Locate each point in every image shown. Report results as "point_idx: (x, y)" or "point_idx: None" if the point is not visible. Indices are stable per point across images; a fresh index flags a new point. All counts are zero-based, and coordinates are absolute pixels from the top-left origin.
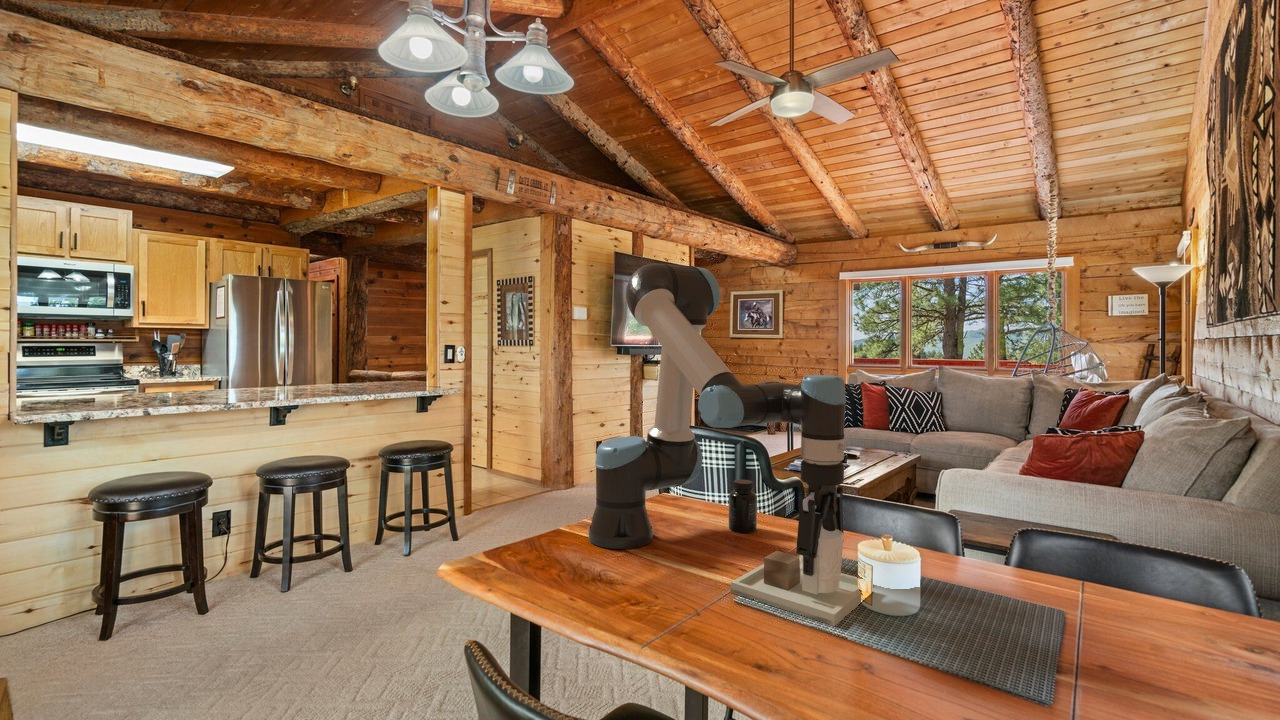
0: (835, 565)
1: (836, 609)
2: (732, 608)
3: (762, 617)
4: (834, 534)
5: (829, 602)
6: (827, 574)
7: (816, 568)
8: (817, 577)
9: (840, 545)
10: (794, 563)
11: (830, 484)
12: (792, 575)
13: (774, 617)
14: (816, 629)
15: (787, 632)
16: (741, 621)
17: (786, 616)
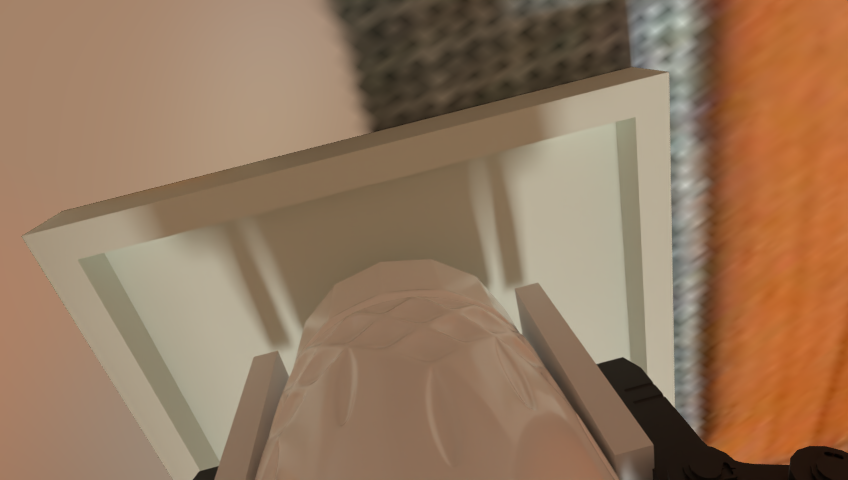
0: (454, 347)
1: (598, 108)
2: (762, 411)
3: (760, 308)
4: None
5: (459, 232)
6: (498, 328)
7: (608, 382)
8: (568, 339)
9: None
10: None
11: None
12: None
13: (729, 284)
14: (717, 101)
15: (824, 160)
16: (840, 324)
17: (688, 264)
